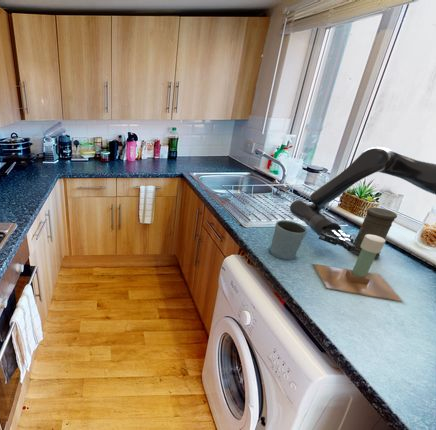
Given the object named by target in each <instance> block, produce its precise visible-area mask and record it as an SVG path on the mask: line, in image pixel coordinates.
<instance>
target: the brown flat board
mask: <svg viewBox="0 0 436 430" xmlns="http://www.w3.org/2000/svg"><path fill="white" fill-rule="evenodd" d="M312 266H313V268H314V269H315V271H316V273H317V274H318V276H319V278H320V280H321V281H322V284H323V285H324V287H325V289H327V290H333V291H337V292H342V293H343V292H344V293H349V294H353V295H359V296H365V297H371V298H376V299H382V300H387V301H392V302H399V303H403V300H402V299H401V297H400V296H398V294H397V293H396V292H395V291H394V290H393V289H392V287H391V286H390V285H389V284H388V283H387V282H386V281H385V279H383V277H382V276H381V275H380V274H378V273H372V272H368V273H367V277H368V278H369V279H370V281H369V283H368V285H367V284H362V283H356V282H350V281H349V279H348V278H347V277H346V275H345V274H346V272H347V270H350V271H352V270H353V269H348V268H341V267H334V266H328V265H322V264H316V263H313V265H312Z"/></svg>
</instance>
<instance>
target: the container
mask: <svg viewBox="0 0 436 430" xmlns="http://www.w3.org/2000/svg"><path fill="white" fill-rule="evenodd" d="M397 218H398V214H397V213H396V212H395V211H392V210H390V209H385V208H381V207H368V208H367V209H366V215H365V218H363V221H362V224H361V226H360V228H359V230H358V233H357V235H356V237H355V240H354V242H353V245H355V246H356V248H355V250H354V251H350V252H351V253H352V254H354V255H355V256H358V257H359V254H360V252H361V250H362V248H361V247H360V246H361V244H362V241H363V239H364V237H365V235H367V234H371V235H376V236H379V237H382V238H383V239H385V240H386V237H387V235H388V234H389V232H390V229H391V227H392V226H393V225H392V224H393V222H394V221H395V219H397ZM381 252H382V251H381ZM381 252H380V253H377V254H376V256H375V258H374V260H375V259H378V258H379V257H380V254H381Z"/></svg>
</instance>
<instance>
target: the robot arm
mask: <svg viewBox="0 0 436 430" xmlns="http://www.w3.org/2000/svg"><path fill="white" fill-rule="evenodd" d="M375 173H381V174H385V175H389V176H393V177H396V178H398V179H402V180H403V181H406V182H408V183H409V184H412V185H413V186H415V187H417V188H418V189H421V190H423V191H425V192H427V193H430V194H432V195H435V196H436V163H432V162H428V161H422V160H418V159H414V158H412V157H408V156H406V155H405V154H401V153H398V152H396V151H394V150H391V149H390V148H387V147H383V146H376V147H371V148H367V149H366V150H364V151H363V152H362V153H361V154H360V155H359V156H357V158H356V159H355V160H353V162H352V163H351V164H350V165H348V166H347V167H346V168H345V169H344V170H343V171H342V172H340V173H339V174H338V175H336V176H334V177H333V178H332V179H330V180H328V182H325V184H323V185H321V187H319V188H318V189H316V190H315V191H313V192H312V193H311V194H310V195H309V199H310V201H311V202H312V203H311V204H310V203H308V202H306V201H304V200H302V199H298V200H294V201H293V202H291V204H290V205H289V211H290V213H291V214H292V215H293V216H294V217H296V218H298V219H300V220H301V221H302V222H303V223H304V224H306V225H307V226H308V227H309V228H310V229H311V231H313V233H315V234H316V235H317V236H318V238H317V239H318V240H320V241H323V242H326V243H328V244H331V245H333V246H337V245H338V246H339V247H342V248H343V249H345V250H346V251H348V252H351V251H354V250H355V248H356V246H355V245H353V243H354V241H355V239H356V237H357V235H356V234H354V233H352V234H348V233H347V232H345V231H344V230H342V228H341V225H340V224H339V223H338V222H336V221H334V220H333V219H332V218H330V216H329V217H328V216H327V215H325V214H323V213H322V212H321V211H322V210H323V208H324V207H326V205H328V204H330V203H331V202H332V201H334V200H335V199H337V198H338V197H340V196H341V195H342V194H343V193H345V192H346V191H348V189H349V188H350V187H353V185H355V184H357V183H358V182H360V181H362V180H363V179H365V178H367V177H369V176H371V175H373V174H375Z"/></svg>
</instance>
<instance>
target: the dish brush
mask: <svg viewBox="0 0 436 430" xmlns="http://www.w3.org/2000/svg"><path fill="white" fill-rule="evenodd" d="M386 241H387V240H386V238H385V239H383V238H382V237H379V236H376V235H371V234H367V235H365V237H364V239H363V241H362V244H361V246H360V247H361V248H362V250H361V252H360V254H359V256H358V257H357V258H356V261H355V264H354V265H353V268H352V269H348V270H347V272H346V274H345V275H346V277H347V278H348V279H349V281H350V282H356V283H362V284H367V285H368V283H369V281H370V279H369V278H368V277H367V273H369V271H370V270H371V269H370V268H371V267H372V264H373V263H374V260H375V259H374V258H375V256H376V254H377V253H379V254H381V253H380V252H382V250H383V248H384V246H385V244H386ZM350 270H352V271H350Z"/></svg>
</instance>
